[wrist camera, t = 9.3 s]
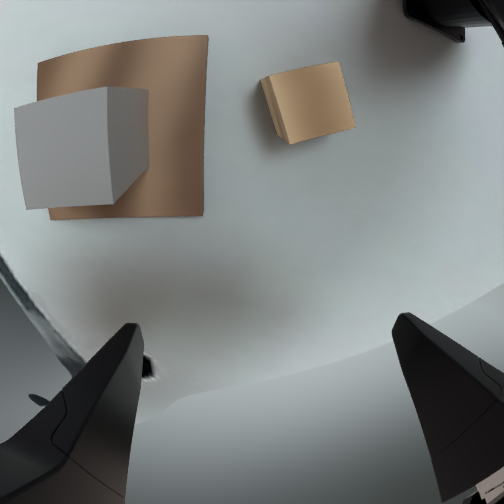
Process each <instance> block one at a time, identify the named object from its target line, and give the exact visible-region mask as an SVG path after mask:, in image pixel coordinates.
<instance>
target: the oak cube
mask: <svg viewBox="0 0 504 504" xmlns="http://www.w3.org/2000/svg"><path fill="white" fill-rule="evenodd" d="M260 82H261V85H262V88H263V91H264V94H265V97H266V100H267V104H268V107H269V110H270V113H271V116H272V119H273V123H274V126H275V129H276V132H277V136H279V137H280V138H282V139H283V140H284V141H286V142H287V143H289V144H294V143H297V142H301V141H305V140H308V139H312V138H316V137H320V136H324V135H328V134H332V133H336V132H340V131H344V130H348V129H353V128H356V127H355V122H354V118H353V113H352V109H351V105H350V101H349V97H348V93H347V89H346V86H345V82H344V78H343V75H342V71H341V68H340V64H339V61H338V62H332V63H326V64H320V65H315V66H310V67H305V68H300V69H295V70H291V71H286V72H282V73H278V74H274V75H270V76H267V77H265V78H263V79H261V80H260Z"/></svg>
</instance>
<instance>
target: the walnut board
mask: <svg viewBox="0 0 504 504" xmlns="http://www.w3.org/2000/svg"><path fill="white" fill-rule="evenodd" d="M208 40H209V39H208V35H193V36H173V37H161V38H151V39H142V40H134V41H127V42H121V43H115V44H110V45H104V46H99V47H95V48H90V49H86V50H81V51H77V52H73V53H70V54H66V55H62V56H59V57H55V58H52V59H49V60H46V61H43V62H40V63H38V70H37V101H41V100H44V99H48V98H52V97H56V96H60V95H65V94H69V93H74V92H79V91H84V90H89V89H95V88H101V87H125V88H138V89H148V90H149V98H148V133H149V167H148V168H147V169H146V170H145V171H144V172H143V173H142V174H141V175H140V176H139V177H138V178H137V179H136V180H135V181H134V182H133V184H132V185H131V186H130V187H129V188H128V189H127V190H126V191H125V192H124V193H123V194H122V195H121V197H120V198H119V199H118V200H117V201H116V202H115V203H114V204H107V205H87V206H70V207H55V208H48V210H49V215H50V220H63V219H86V218H114V217H158V216H203V212H204V125H205V95H206V73H207V55H208Z"/></svg>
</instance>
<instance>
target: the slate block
mask: <svg viewBox="0 0 504 504" xmlns="http://www.w3.org/2000/svg"><path fill="white" fill-rule="evenodd" d="M148 98H149V90H148V89H138V88H125V87H101V88H95V89H89V90H84V91H79V92H74V93H69V94H65V95H60V96H56V97H52V98H48V99H44V100H41V101H37V102H33V103H30V104H27V105H23V106H20V107H17V108H14V115H15V133H16V145H17V155H18V163H19V171H20V177H21V184H22V190H23V195H24V200H25V205H26V210H30V209H42V208H55V207H70V206H87V205H107V204H114V203H115V202H116V201H117V200H118V199H119V198H120V197H121V195H122V194H123V193H124V192H125V191H126V190H127V189H128V188H129V187H130V186H131V185H132V184H133V182H134V181H135V180H136V179H137V178H138V177H139V176H140V175H141V174H142V173H143V172H144V171H145V170H146V169H147V168H148V167H149V133H148Z"/></svg>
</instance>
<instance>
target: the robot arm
mask: <svg viewBox="0 0 504 504" xmlns="http://www.w3.org/2000/svg"><path fill="white" fill-rule="evenodd" d="M403 8H404V14H405V15H406V16H407V17H408V18H410V19H412V20H415V21H417V22H419V23H421V24H424V25H426V26H428V27H430V28H432V29H434V30H436V31H438V32H440V33H442V34H444V35H446V36H448V37H450V38H452V39H454V40H455V41H457V42H459V43H463V42H465V28H466V27H481V26H493V27H494V29H495V31H496V32H497V34H498V36H499V38H500V39H501V41H502V45H503V47H504V0H403ZM409 11H410V12H411V14H410V13H409ZM459 36H460V37H459ZM392 337H393V341H394V344H395V347H396V351H397V355H398V358H399V362H400V365H401V369H402V372H403V375H404V377H405V380H406V383H407V386H408V388H409V391H410V394H411V397H412V400H413V403H414V405H415V408H416V411H417V414H418V417H419V420H420V423H421V427H422V430H423V433H424V436H425V440H426V443H427V447H428V450H429V453H430V457H431V461H432V464H433V469H434V472H435V476H436V481H437V485H438V489H439V493H440V498H441V501H442V503H443V502H445V501H447V500H449V499H451V498H453V497H455V496H457V495H459V494H461V493H462V492H464V491H466V490H468V489H470V488H471V487H473V486H475V485H476V486H477V489H478V490H477V491H476V492H475V493H473V494H472V495H470V496H469V497H467V498H466V499H464V501H463V503H462V504H504V373H503V372H501V371H500V370H498V369H496V368H495V367H493V366H492V365H490V364H488V363H487V362H485V361H484V360H482V359H481V358H478V356H476V355H475V354H473V353H472V352H470V351H469V350H467V349H466V348H464V347H463V346H461V345H460V344H458V343H457V342H455V341H453V340H452V339H450V338H449V337H448V336H446V335H444V334H443V333H441V332H440V331H438V330H437V329H435V328H434V327H432V326H430V325H429V324H427V323H426V322H424V321H423V320H421V319H419V318H418V317H416V316H415V315H413V314H411V313H409V312H407V313H401V314H399V316H398V318H397V320H396V322H395V324H394V327H393V329H392ZM143 352H144V341H143V337H142V334H141V330H140V326H139V325H138V324H137V323H126V324H125V325H123V327H122V328H121V329H120V330H119V331H118V332H117V333H116V334H115V335H114V336H113V337H112V338H111V339H110V340H109V341H108V342H107V343H106V344H105V345H104V346H103V347H102V348H101V349H100V350H99V351H98V352H97V353H96V354H95V355H94V356H93V357H92V358H91V359H90V360H89V361H88V362H87V363H86V364H85V365H84V366H83V367H82V368H81V370H80V371H79V372H78V373H77V374H76V375H75V376H74V377H73V378H72V379H71V380H70V381H69V382H68V383H67V384H66V385H65V387H64V388H63V389H62V391H60V392H59V393H58V394H57V395H56V396H55V397H54V398H53V399H52V400H51V401H50V402H49V403H48V404H47V405H46V406H45V407H44V408H43V409H42V410H41V411H40V412H39V413H38V414H37V415H36V416H35V417H34V418H33V419H31V420H30V421H29V422H28V423H27V424H26V425H25V426H23V428H21V429H20V430H19V431H18V432H17V433H16V434H14V436H12V437H11V438H10V439H9V440H7V441H5V442H3V443H1V444H0V504H125V493H126V483H127V474H128V466H129V458H130V450H131V443H132V436H133V430H134V424H135V418H136V412H137V406H138V400H139V395H140V389H141V377H142V363H143Z"/></svg>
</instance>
